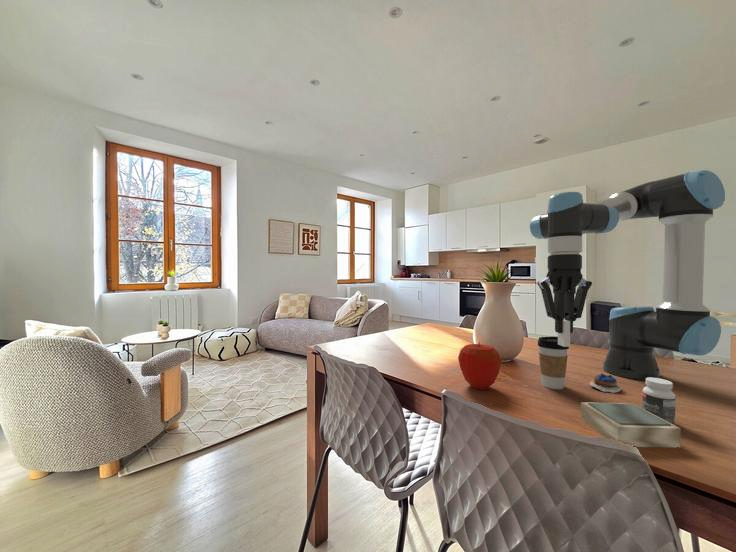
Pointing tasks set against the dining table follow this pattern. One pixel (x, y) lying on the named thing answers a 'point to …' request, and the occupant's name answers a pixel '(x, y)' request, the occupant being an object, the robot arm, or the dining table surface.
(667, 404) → the pill bottle
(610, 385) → the dessert
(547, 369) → the coffee cup
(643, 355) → the robot arm
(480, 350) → the apple
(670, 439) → the tray
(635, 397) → the dining table surface
